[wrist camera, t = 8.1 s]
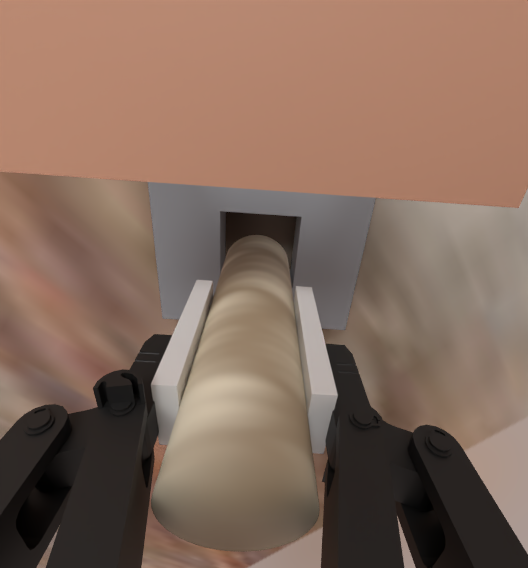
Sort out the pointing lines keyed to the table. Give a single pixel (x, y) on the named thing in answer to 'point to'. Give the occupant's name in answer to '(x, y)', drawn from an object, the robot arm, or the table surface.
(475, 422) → the table surface
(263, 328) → the peg
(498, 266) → the table surface
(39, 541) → the robot arm
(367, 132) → the socket porch
